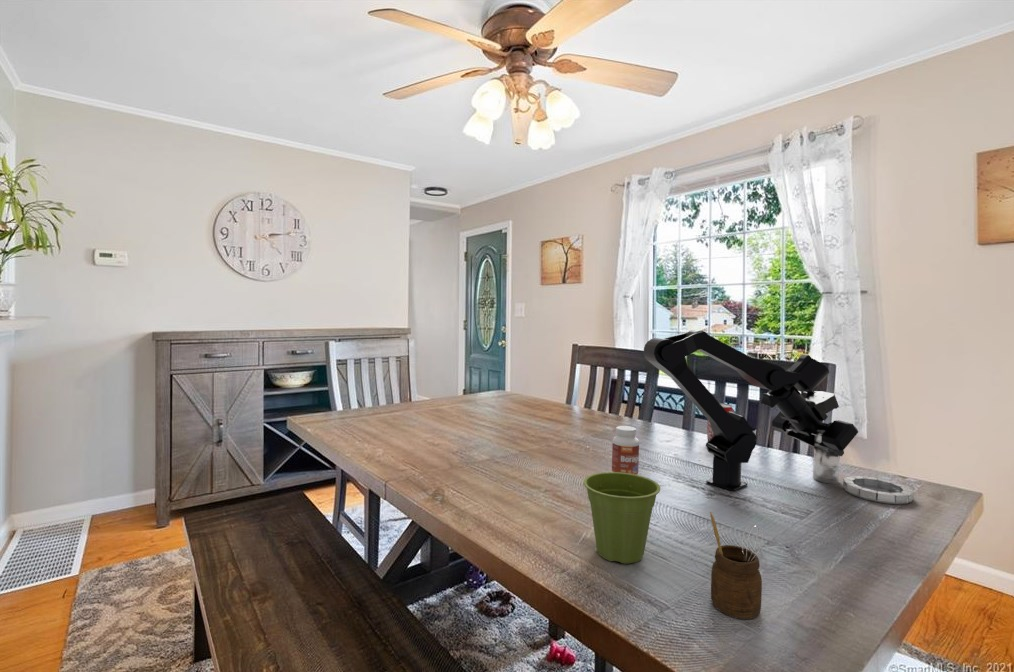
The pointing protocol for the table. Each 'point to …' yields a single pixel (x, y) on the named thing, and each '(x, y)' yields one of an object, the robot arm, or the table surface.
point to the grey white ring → (878, 490)
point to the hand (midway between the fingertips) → (831, 451)
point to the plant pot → (621, 513)
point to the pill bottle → (625, 451)
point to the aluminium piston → (825, 463)
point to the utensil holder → (736, 579)
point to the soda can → (709, 429)
